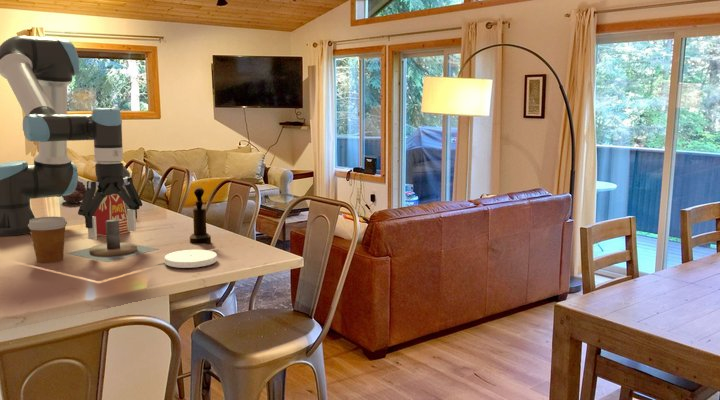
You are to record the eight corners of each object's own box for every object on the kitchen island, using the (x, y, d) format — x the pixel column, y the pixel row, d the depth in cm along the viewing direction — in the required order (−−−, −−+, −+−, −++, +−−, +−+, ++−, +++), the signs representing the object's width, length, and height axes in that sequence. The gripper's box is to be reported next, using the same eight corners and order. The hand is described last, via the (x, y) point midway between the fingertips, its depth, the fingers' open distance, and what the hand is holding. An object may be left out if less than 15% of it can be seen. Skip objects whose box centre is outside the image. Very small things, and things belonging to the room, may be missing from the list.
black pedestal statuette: (191, 240, 194) (190, 185, 191) (212, 240, 195) (211, 185, 192) (187, 245, 187) (186, 188, 185) (209, 245, 188) (207, 188, 185)
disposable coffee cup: (53, 267, 161) (50, 223, 159) (22, 265, 162) (19, 221, 161) (76, 259, 170) (74, 217, 168) (47, 256, 172) (44, 215, 170)
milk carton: (130, 233, 204) (128, 174, 200) (108, 238, 195) (105, 177, 192) (110, 230, 207) (107, 172, 204) (88, 235, 199) (85, 175, 196)
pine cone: (56, 201, 265) (55, 178, 263) (80, 199, 271) (79, 177, 269) (67, 206, 251) (65, 182, 250) (92, 204, 258) (90, 181, 256)
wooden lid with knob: (79, 252, 174) (77, 222, 173) (117, 243, 186) (115, 215, 184) (109, 258, 168) (108, 227, 167) (146, 249, 179) (145, 219, 178)
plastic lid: (167, 273, 158) (167, 264, 158) (162, 260, 171) (162, 251, 171) (221, 268, 164) (221, 259, 163) (212, 256, 177) (212, 247, 176)
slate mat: (66, 255, 174) (66, 253, 173) (118, 243, 189) (118, 241, 189) (108, 264, 165) (108, 262, 165) (159, 250, 180) (159, 248, 180)
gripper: (78, 166, 160) (83, 244, 163) (152, 160, 182) (155, 228, 185) (61, 165, 164) (66, 241, 167) (135, 158, 185) (138, 226, 189)
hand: (113, 234), depth 176 cm, fingers open, 13 cm apart
